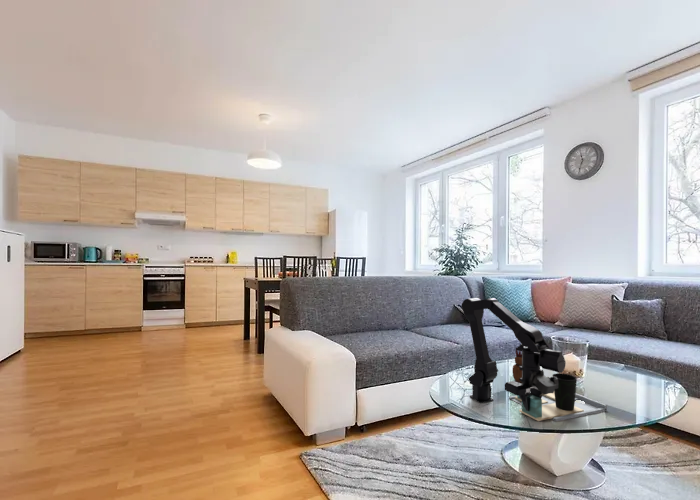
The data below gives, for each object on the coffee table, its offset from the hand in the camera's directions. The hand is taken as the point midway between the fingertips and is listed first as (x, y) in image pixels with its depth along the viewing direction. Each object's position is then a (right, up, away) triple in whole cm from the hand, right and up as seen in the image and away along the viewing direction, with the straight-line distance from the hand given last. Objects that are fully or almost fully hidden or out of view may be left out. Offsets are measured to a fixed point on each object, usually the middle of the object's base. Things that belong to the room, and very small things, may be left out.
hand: (531, 410), depth 129 cm
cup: (+15, -2, +5) cm, 16 cm away
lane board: (+15, -3, +11) cm, 18 cm away
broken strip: (+13, -2, +15) cm, 20 cm away
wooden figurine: (+13, -3, +36) cm, 38 cm away
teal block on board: (+9, -2, +3) cm, 10 cm away
